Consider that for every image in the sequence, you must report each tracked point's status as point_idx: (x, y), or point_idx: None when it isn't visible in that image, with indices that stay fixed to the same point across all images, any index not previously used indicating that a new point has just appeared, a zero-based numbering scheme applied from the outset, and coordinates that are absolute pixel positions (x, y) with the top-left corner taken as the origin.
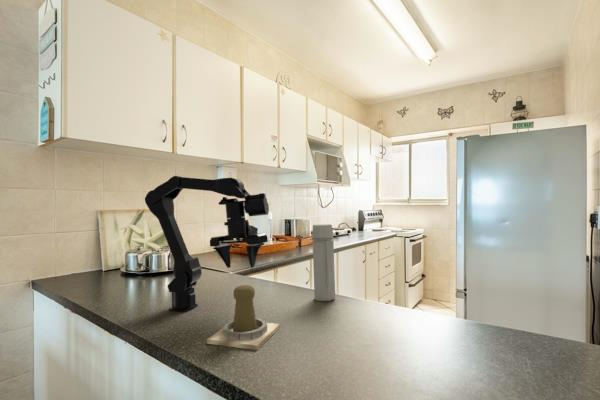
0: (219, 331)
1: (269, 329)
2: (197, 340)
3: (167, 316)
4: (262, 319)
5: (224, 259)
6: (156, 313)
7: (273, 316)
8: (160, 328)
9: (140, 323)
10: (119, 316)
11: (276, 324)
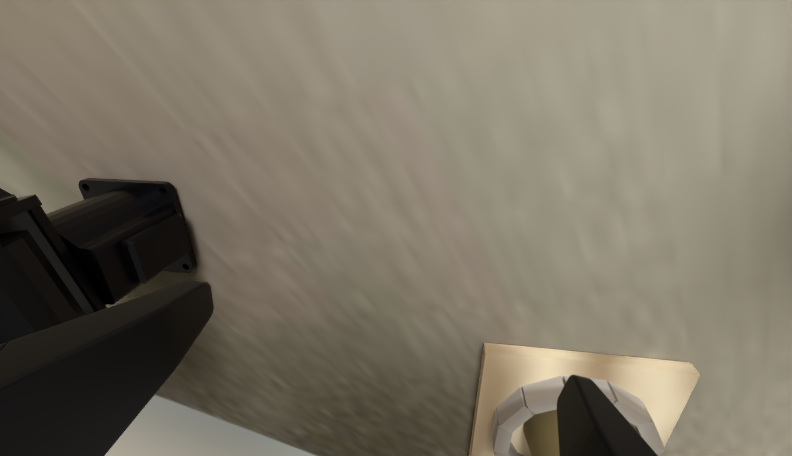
0: (478, 435)
1: (660, 416)
2: (428, 446)
3: None
4: (632, 409)
5: (114, 433)
6: None
7: (637, 253)
8: (258, 394)
9: None
10: None
11: (684, 379)
